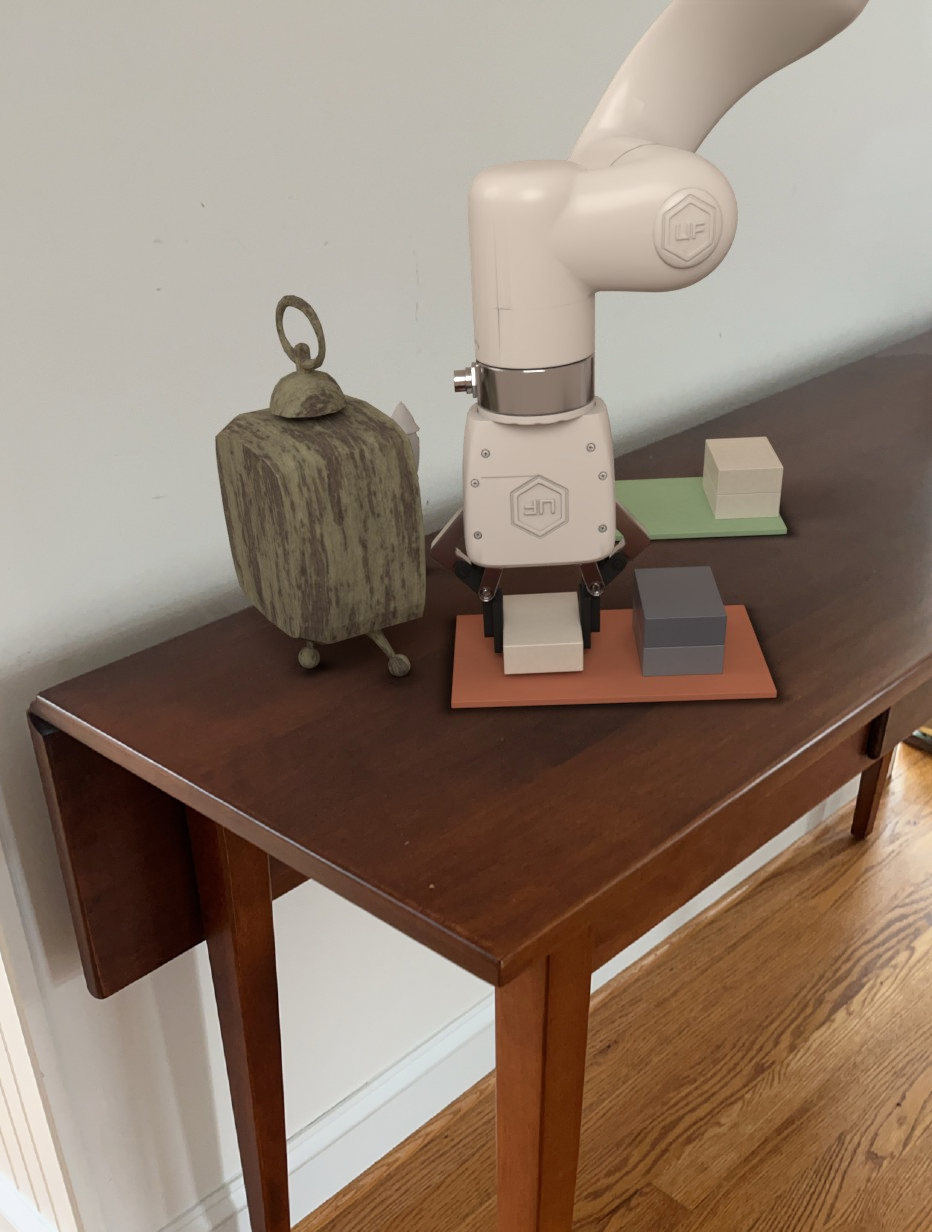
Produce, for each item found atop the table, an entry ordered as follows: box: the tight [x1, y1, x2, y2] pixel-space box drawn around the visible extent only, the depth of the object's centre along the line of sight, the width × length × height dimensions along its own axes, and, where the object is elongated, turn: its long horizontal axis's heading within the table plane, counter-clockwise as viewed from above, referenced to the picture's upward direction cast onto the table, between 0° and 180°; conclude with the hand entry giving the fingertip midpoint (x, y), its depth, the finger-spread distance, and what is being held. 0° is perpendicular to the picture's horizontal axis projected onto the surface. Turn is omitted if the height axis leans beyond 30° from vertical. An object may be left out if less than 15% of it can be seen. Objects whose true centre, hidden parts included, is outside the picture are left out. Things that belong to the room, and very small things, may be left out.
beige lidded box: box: [702, 436, 784, 520], centre depth 111 cm, size 6×8×4 cm, turn 178°
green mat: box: [615, 476, 788, 542], centre depth 113 cm, size 18×14×1 cm
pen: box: [390, 400, 421, 482], centre depth 101 cm, size 2×3×14 cm
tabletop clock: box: [214, 294, 427, 678], centre depth 85 cm, size 14×9×25 cm, turn 30°
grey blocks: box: [632, 565, 727, 677], centre depth 89 cm, size 6×8×4 cm, turn 178°
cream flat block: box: [503, 591, 583, 674], centre depth 90 cm, size 6×8×2 cm, turn 178°
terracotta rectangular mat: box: [450, 604, 778, 709], centre depth 90 cm, size 22×14×1 cm, turn 88°
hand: (542, 640), depth 90 cm, fingers closed on cream flat block, 5 cm apart
